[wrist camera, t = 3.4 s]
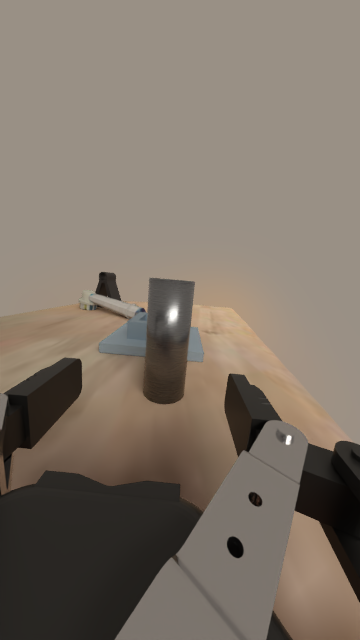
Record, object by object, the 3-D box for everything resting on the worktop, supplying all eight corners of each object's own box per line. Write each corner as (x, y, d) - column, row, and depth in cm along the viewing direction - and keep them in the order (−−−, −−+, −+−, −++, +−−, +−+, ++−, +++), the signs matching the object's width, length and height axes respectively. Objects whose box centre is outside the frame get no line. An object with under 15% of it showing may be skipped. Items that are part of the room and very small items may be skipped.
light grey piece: (135, 308, 51) (75, 285, 62) (131, 332, 53) (74, 306, 64) (148, 306, 56) (90, 285, 67) (144, 329, 57) (89, 305, 68)
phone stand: (90, 306, 70) (90, 271, 67) (100, 304, 76) (101, 271, 73) (114, 309, 68) (115, 273, 66) (122, 306, 74) (123, 273, 72)
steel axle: (139, 401, 20) (145, 277, 17) (147, 379, 24) (153, 277, 21) (183, 405, 20) (196, 282, 17) (184, 382, 24) (193, 281, 21)
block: (99, 352, 31) (99, 323, 30) (128, 327, 46) (129, 308, 45) (202, 361, 31) (205, 333, 30) (196, 333, 46) (199, 314, 45)
